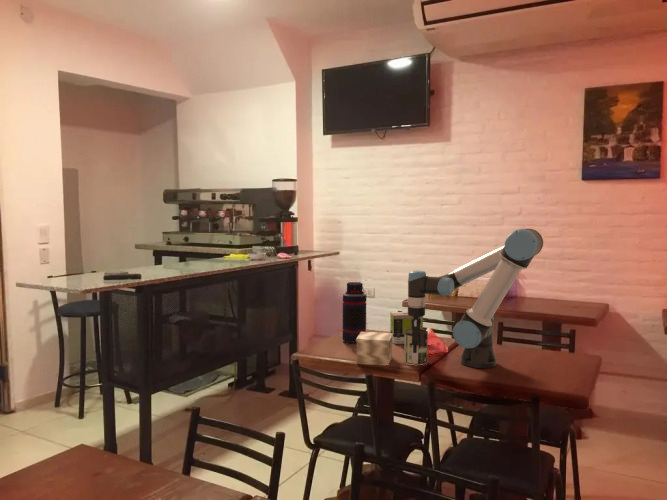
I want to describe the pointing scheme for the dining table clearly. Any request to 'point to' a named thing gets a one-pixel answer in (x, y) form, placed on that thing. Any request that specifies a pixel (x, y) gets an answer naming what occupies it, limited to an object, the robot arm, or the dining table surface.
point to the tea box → (401, 325)
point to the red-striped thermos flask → (354, 311)
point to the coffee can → (421, 347)
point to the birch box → (374, 348)
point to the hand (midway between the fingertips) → (415, 356)
